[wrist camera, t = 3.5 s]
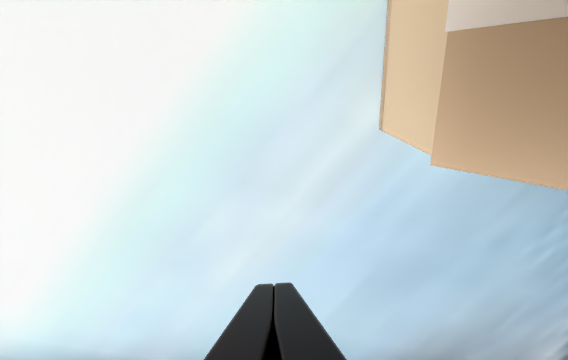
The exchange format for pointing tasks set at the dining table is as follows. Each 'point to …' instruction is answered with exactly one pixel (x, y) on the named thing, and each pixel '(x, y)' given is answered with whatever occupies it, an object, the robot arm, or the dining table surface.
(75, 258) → the dining table surface
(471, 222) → the dining table surface
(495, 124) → the carton lid
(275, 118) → the dining table surface
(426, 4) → the carton
